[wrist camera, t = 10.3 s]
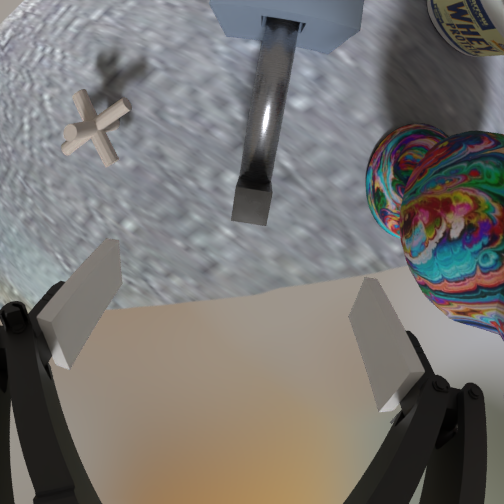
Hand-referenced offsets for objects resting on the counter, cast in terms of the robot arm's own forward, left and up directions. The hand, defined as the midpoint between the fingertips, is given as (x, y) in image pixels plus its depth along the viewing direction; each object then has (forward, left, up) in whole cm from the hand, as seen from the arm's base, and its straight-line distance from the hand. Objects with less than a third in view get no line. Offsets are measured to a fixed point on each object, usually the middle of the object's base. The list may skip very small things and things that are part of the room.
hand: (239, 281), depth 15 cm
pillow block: (0, +21, -23) cm, 31 cm away
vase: (+22, +4, -23) cm, 32 cm away
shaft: (0, +10, -19) cm, 21 cm away
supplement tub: (+24, +31, -23) cm, 46 cm away
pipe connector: (-19, +5, -23) cm, 30 cm away
